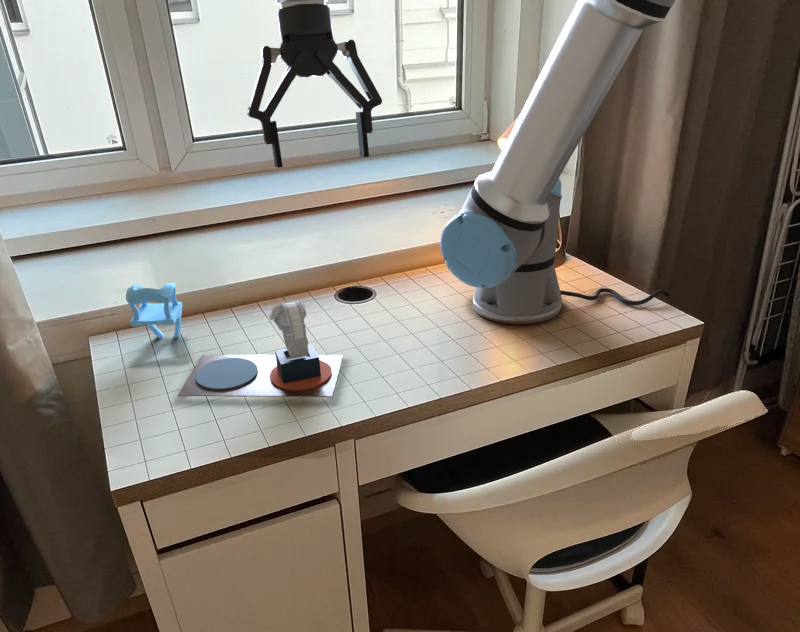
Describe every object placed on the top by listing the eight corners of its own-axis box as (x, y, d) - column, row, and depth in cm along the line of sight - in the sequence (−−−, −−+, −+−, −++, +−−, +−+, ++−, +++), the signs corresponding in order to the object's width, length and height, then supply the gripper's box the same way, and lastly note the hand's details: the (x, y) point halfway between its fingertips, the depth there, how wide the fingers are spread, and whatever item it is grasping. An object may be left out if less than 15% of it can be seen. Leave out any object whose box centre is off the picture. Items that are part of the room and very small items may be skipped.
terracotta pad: (335, 359, 107) (335, 357, 107) (327, 390, 99) (326, 389, 99) (276, 359, 107) (276, 357, 107) (264, 390, 100) (263, 388, 100)
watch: (310, 356, 107) (303, 289, 101) (324, 381, 101) (317, 311, 95) (274, 363, 106) (264, 295, 100) (285, 389, 99) (275, 318, 93)
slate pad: (263, 359, 108) (263, 357, 107) (250, 390, 100) (249, 388, 100) (205, 359, 108) (205, 357, 108) (187, 390, 100) (187, 388, 100)
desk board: (343, 361, 109) (343, 354, 108) (333, 403, 99) (332, 396, 98) (203, 361, 110) (202, 354, 109) (179, 402, 100) (177, 395, 99)
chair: (195, 338, 117) (181, 270, 110) (185, 363, 110) (169, 291, 103) (147, 341, 116) (131, 272, 110) (135, 365, 109) (116, 294, 103)
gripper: (379, 3, 107) (391, 151, 116) (212, 14, 101) (238, 169, 109) (394, -4, 100) (406, 153, 109) (216, 7, 94) (244, 173, 103)
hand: (322, 161), depth 109 cm, fingers open, 13 cm apart
